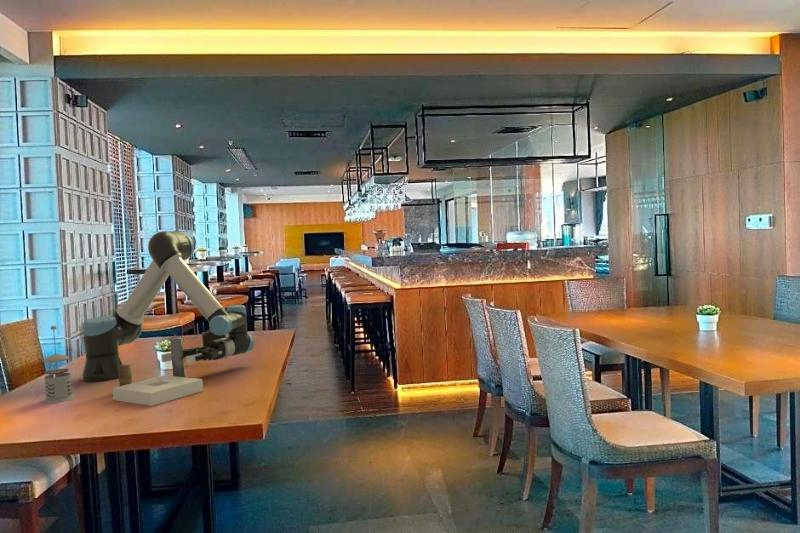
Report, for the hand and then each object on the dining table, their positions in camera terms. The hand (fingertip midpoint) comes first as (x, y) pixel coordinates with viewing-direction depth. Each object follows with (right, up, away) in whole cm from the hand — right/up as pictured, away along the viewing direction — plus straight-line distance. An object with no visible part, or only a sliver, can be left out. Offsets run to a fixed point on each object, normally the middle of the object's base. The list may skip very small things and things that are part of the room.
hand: (174, 359), depth 231 cm
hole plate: (+1, -10, -17) cm, 19 cm away
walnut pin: (-14, -10, -7) cm, 19 cm away
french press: (-35, -12, -13) cm, 39 cm away
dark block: (-2, -6, +66) cm, 66 cm away
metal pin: (+1, -9, +2) cm, 9 cm away
